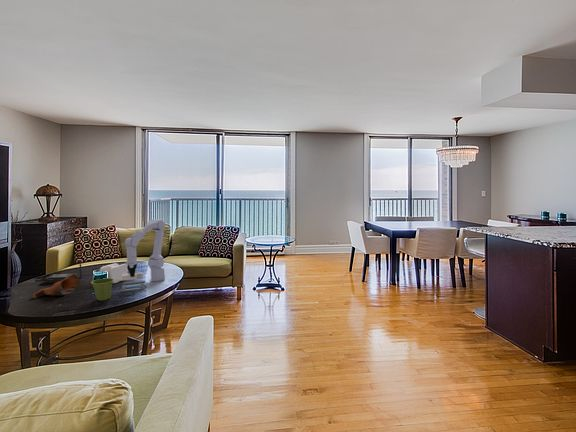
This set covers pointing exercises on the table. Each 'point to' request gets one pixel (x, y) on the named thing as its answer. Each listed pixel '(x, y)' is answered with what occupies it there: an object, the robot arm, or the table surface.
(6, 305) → the table surface
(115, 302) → the table surface
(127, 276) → the tall beige pillar
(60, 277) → the black wireless router
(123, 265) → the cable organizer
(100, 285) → the plant pot
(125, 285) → the board
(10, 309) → the table surface
